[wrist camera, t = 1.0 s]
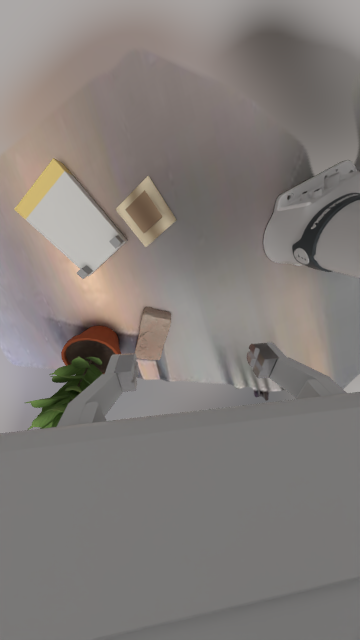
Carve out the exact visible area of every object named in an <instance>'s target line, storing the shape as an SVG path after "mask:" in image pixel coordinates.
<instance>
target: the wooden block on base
mask: <svg viewBox="0 0 360 640" xmlns="http://www.w3.org/2000/svg"><path fill="white" fill-rule="evenodd" d="M115 210H116V211H117V212H118V213H119V215H120V216H121V217H122V218H123V220H124V221H125V222H126V223H127V225H128V226H129V227H130V228H131V230H132V231H133V232H134V233H135V234H136V236H137V237H138V238H139V239H140V241H141V242H142V243H143V244H144V246H145V247H147V246H148V245H149V244H150V243H151V242H152V241H154V240H155V239H156V238H157V237H158V236H159V235H160V234H161V233H163V232H164V231H165V230H166V229H167V228H168V227H169V226H170V225H172V224H173V223H174V222H175V221H176V218H175V217H174V215H173V214H172V212H171V211H170V209H169V207H168V206H167V204H166V203H165V201H164V200H163V198H162V196H161V195H160V193H159V192H158V190H157V189H156V187H155V185H154V184H153V182H152V181H151V179H150V178H149V176H147V177H146V178H145V179H144V180H143V181H142V182H141V183H140V185H139V186H138V187H137V188H136V189H135V190H134V191H133V192H132V193H131V194H130V195H129V196H128V197H127V198H126V199H125V200H124V201H123V202H122V203H121V204H120V205H119V206H118V207H117V208H116V209H115Z"/></svg>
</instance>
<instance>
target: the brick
mask: <svg viewBox="0 0 360 640" xmlns="http://www.w3.org/2000/svg"><path fill="white" fill-rule="evenodd" d="M170 323H171V314H170V313H169V312H166V311H160V310H156V309H153V308H149V307H146V308H145V309H144V312H143V315H142V319H141V324H140V330H139V336H138V340H137V345H136V349H135V354H136V357H137V358H140V359H149V360H150V359H152V360H154V359H155V360H159V359H160V358H161V354H162V350H163V345H164V343H165V340H166V337H167V334H168V331H169V328H170Z"/></svg>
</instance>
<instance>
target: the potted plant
mask: <svg viewBox="0 0 360 640" xmlns="http://www.w3.org/2000/svg"><path fill="white" fill-rule="evenodd" d="M61 354H62V360H63V362H64V363H65V365H66V366H63V367H61V368H58V369H57V370H56V371H55V372H54V373H52V374H55V375H57V376H52V377H53V378H52V381H53V382H56V383H58V382H59V383H63V382H67V383H66V384H65V385H64V386H63V387H62V388H61V389H60V390H59V391H58V392H57V393H55V394H54V395H53V396H52V397H51V398H47V399H40V400H35V401H30V402H26V403H31V405H32V406H33V407H36V408H37V407H38V408H40V407H42V412H41V413H40V414H39V415H38V417H37V418H36V419H35V420H33V422H32V426H31V427H30V428H32V427H42V428H40V429H43V428H52V427H57V425H58V423H59V421H60V419H61V417H62V415H63V413H64V411H65V409H66V407H67V405H68V404H69V403H70V402H71V401H72V400H73V399H74V398H76V397H77V396H78V395H79V394H80V393H81V392H82V391H84V390H85V389H86V388H87V387H88V386H89V385H90V384H92V383H93V382H94V381H95V380H96V379H97V378H99V377H100V376H101V375H102V374H105V372H106V369H107V366H108V363H109V361H110V358H111V356H112V355H115V354H121V352H120V349H119V339H118V336H117V334H116V333H115V332H114V331H113V330H112V329H110V328H108V327H105V326H93V327H90V328H89V329H87V330H86V331H84V332H83V333H81V334H80V335H77V336H74V337H73V338H71V339H70V340H69V341H68V342H67V343H66V344H65V346H64V348H63V350H62V352H61ZM75 374H76V375H75ZM71 375H75V376H71ZM87 381H88V382H87ZM30 428H29V429H30ZM29 429H28V430H29Z"/></svg>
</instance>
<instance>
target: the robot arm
mask: <svg viewBox="0 0 360 640" xmlns="http://www.w3.org/2000/svg"><path fill="white" fill-rule="evenodd" d="M349 172H350V173H349ZM288 196H289V198H288V200H287V197H288ZM263 245H264V250H265V253H266V255H267V257H268V258H269V259H270V260H272V261H273V262H276V263H290V264H293V265H297V266H301V265H305V266H308V267H310V268H314V269H318V270H320V271H326V272H332V271H334V272H338V273H341V274H345V275H349V276H352V277H356V278H359V279H360V171H357V169H356V167H355V165H354V164H353V163H352V162H351V161H350V160H346V161H342V162H340V163H338V164H336V165H334V166H333V167H331V168H329V169H327V170H325V171H323V172H321V173H319V174H318V175H316V176H314V177H312V178H310V179H308V180H306V181H305V182H303V183H301V184H299V185H297V186H295V187H293V188H292V189H290V190H288V191H286V192H284V193H282V194H281V195H279V197H278V198H277V200H276V204H275V208H274V213H273V215H272V217H271V219H270V221H269V223H268V225H267V227H266V230H265V234H264V240H263ZM249 349H250V351H249V352H248V353H247V361H248V364H249V365H250V366H251V367H253V372H254V373H255V375H256V376H257V378H269V377H270V379H271V380H273V381H274V382H275V383H277V384H278V385H279V386H281V387H282V388H283V389H285V390H286V391H287V392H289V393H290V394H291V395H293V396H294V397H295V398H296V399H294V400H287V401H277V402H269V403H261V404H251V405H243V406H234V407H226V408H217V409H209V410H199V411H191V412H182V413H174V414H165V415H156V416H147V417H140V418H130V419H121V420H113V421H106V419H105V415H106V414H107V413H108V411H109V410H110V409H111V407H112V406H113V405H114V403H115V402H116V401H117V400H118V398H119V397H120V396H121V394H122V392H128V391H135V390H136V386H137V379H136V378H137V376H138V362H137V361H136V358H137V357H136V354H135V353H130V354H115V355H112V356H111V358H110V361H109V363H108V366H107V369H106V372H105V374H102V375H101V376H100V377H99V378H97V379H96V380H95V381H94V382H93V383H92V384H90V385H89V386H88V387H87V388H86V389H85V390H84V391H82V392H81V393H80V394H79V395H78V396H77V397H76V398H74V399H73V400H72V401H71V402H70V403H69V404H68V405H67V407H66V409H65V411H64V413H63V415H62V417H61V419H60V421H59V423H58V425H57V427H52V428H43V429H35V430H26V431H17V432H9V433H0V640H360V392H355V393H346V392H345V391H344V390H343V389H342V388H341V387H340V386H339V385H337V384H336V383H335V382H334V381H333V380H332V379H331V378H330V377H328V376H326V375H324V374H322V373H320V372H318V371H316V370H314V369H312V368H310V367H308V366H306V365H304V364H301V363H299V362H297V361H295V360H293V359H291V358H287V357H286V356H285V355H284V354H283V353H282V352H281V351H280V350H279V349H278V348H277V346H276V345H275V344H274V343H272V342H267V343H257V344H251V345H250V346H249Z"/></svg>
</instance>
